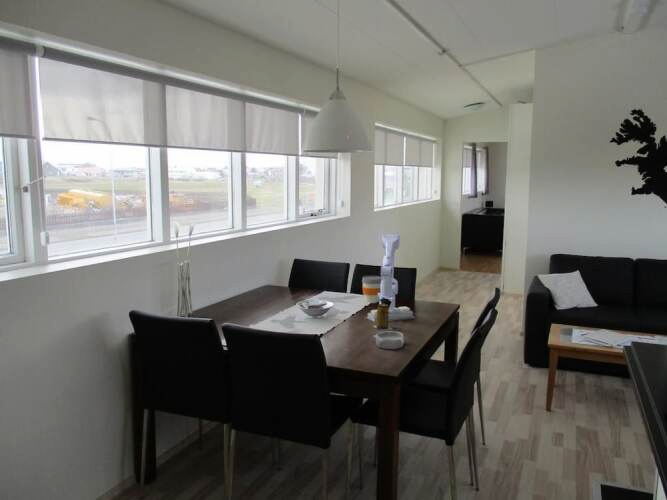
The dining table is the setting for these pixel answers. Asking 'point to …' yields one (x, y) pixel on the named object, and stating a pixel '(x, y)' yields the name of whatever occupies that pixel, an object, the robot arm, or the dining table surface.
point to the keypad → (393, 316)
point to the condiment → (382, 317)
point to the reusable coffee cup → (371, 288)
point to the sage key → (374, 312)
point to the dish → (389, 340)
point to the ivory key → (404, 309)
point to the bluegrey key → (395, 310)
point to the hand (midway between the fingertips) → (385, 311)
